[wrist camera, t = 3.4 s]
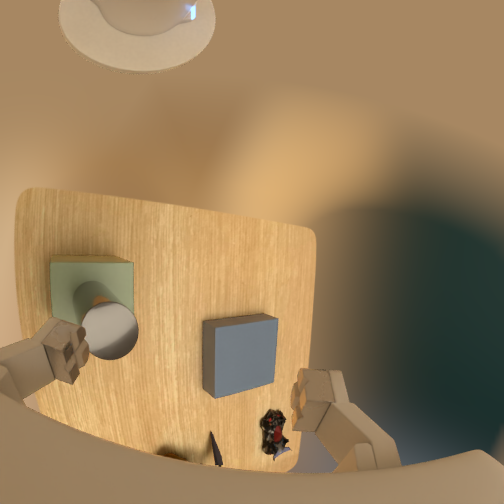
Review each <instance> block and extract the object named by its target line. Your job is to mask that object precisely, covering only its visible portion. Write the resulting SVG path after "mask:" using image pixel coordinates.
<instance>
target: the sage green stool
mask: <svg viewBox="0 0 504 504" xmlns="http://www.w3.org/2000/svg"><path fill="white" fill-rule="evenodd" d="M87 281H98V282H101V283H103V284H104V285H105V286H107V287H108V288H109V289H110V290H111V292H112V293H113V294H114V295H115V296H116V297H117V298H118V299H119V300H120V301H121V302H122V303H123V304H124V305H125V306H126V307H127V308H128V309H129V310H130V311H131V312H132V313H133V314H134V263H133V262H130V261H128V260H125V259H123V258H120V257H117V256H91V255H52V257H51V260H50V292H51V308H52V317H56V318H58V319H61V320H65V321H68V322H71V323H74V324H77V320H76V316H75V313H74V309H73V303H72V300H73V295H74V292H75V290H76V289H77V288H78V287H79V286H80V285H81V284H82V283H84V282H87ZM77 325H78V324H77Z"/></svg>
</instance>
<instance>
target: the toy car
mask: <svg viewBox="0 0 504 504" xmlns="http://www.w3.org/2000/svg"><path fill="white" fill-rule="evenodd" d="M285 420H286V418H285V417H284V416H283V413H282V412H281V411H279V413H278V412H277V411H273V410H270V412H269V414H268V416H267V418H266V419H264V420H263V421H262V425H261V428H262V429H263V443H264V447H263V451H264V452H265V453H266V454H268V455H271V454H274V456H273V460H274V461H275V458H276V457H277V456H279V455H280V454H282V453H283V452H286V451H288V450H291V449H290V448H289V447H285V444H286V443H287V442H289V441H288V439H286V438H285V437H284V436H283V435H282V429H283V426H284V423H285ZM291 451H292V450H291Z"/></svg>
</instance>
